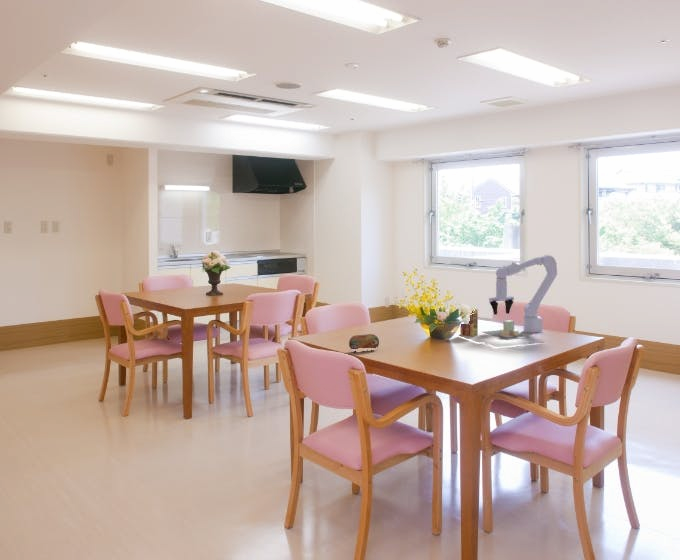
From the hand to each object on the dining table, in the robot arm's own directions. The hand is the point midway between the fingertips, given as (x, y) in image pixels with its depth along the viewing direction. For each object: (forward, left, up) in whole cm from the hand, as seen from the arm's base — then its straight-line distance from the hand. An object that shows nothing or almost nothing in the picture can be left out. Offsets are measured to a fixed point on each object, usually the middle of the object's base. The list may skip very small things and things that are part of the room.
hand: (501, 313), depth 330 cm
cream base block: (+5, +15, -9) cm, 18 cm away
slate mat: (+5, +11, -10) cm, 16 cm away
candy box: (+22, +3, -11) cm, 24 cm away
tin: (+86, +14, -11) cm, 88 cm away
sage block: (+5, +15, -6) cm, 17 cm away
